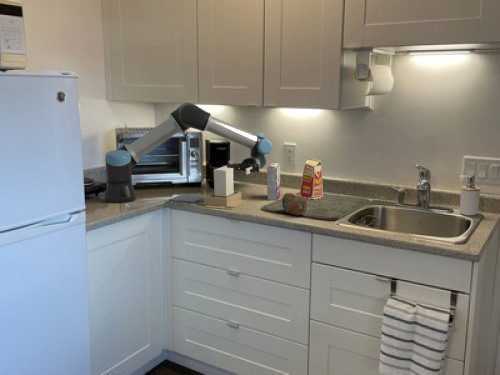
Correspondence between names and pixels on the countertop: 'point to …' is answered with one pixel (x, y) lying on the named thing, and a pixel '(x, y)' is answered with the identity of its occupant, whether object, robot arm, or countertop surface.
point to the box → (223, 182)
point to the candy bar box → (273, 181)
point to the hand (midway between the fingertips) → (233, 171)
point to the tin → (294, 203)
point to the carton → (223, 201)
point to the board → (188, 198)
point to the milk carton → (312, 180)
